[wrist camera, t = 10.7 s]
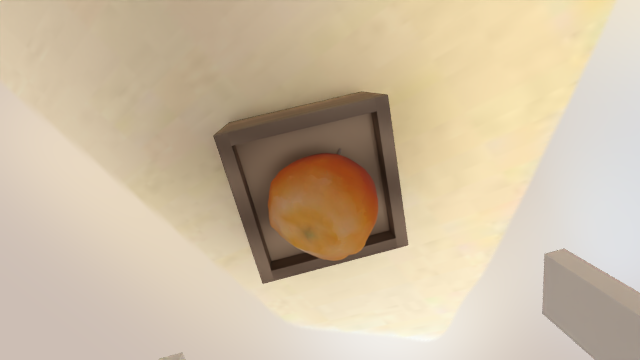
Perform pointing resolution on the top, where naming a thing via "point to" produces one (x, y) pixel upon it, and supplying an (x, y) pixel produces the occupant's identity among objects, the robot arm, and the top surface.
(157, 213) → the top surface
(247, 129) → the open wooden box
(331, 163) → the fruit
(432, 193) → the top surface
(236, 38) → the top surface
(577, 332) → the robot arm
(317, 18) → the top surface
